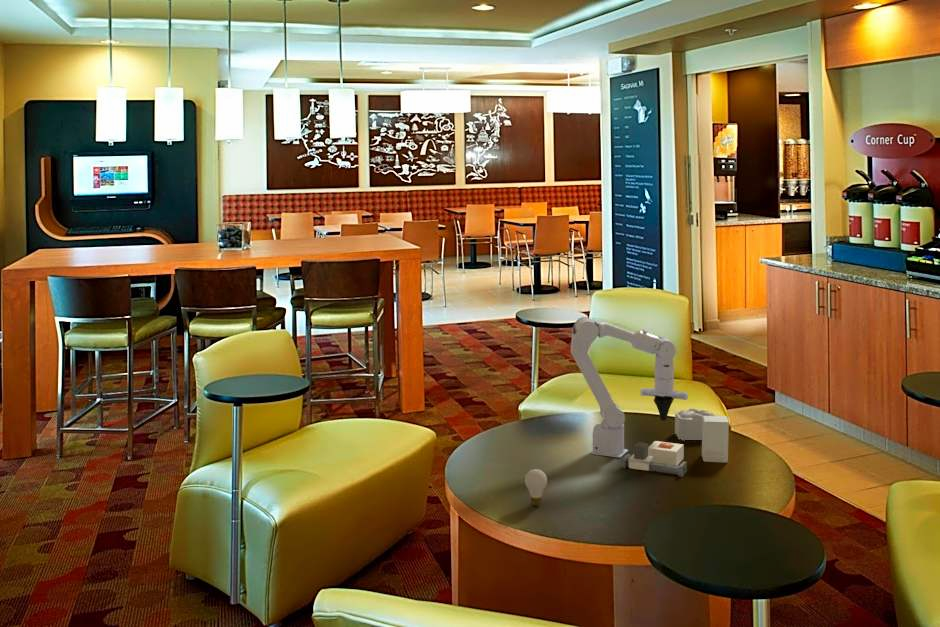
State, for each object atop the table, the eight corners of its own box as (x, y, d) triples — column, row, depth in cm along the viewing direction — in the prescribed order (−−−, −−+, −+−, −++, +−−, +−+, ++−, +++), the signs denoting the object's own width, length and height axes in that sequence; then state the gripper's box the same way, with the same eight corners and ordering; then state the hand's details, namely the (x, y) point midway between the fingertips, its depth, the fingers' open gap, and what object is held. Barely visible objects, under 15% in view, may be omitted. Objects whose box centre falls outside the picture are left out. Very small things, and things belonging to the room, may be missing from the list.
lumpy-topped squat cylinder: (673, 432, 297) (673, 407, 295) (711, 431, 296) (712, 406, 295) (679, 441, 287) (679, 415, 285) (719, 440, 286) (720, 414, 285)
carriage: (628, 468, 260) (628, 445, 259) (633, 463, 264) (633, 441, 263) (648, 470, 257) (648, 447, 256) (653, 466, 261) (653, 443, 260)
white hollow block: (647, 462, 266) (647, 447, 265) (654, 454, 273) (655, 440, 272) (676, 466, 262) (676, 451, 261) (683, 458, 268) (683, 444, 268)
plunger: (658, 460, 266) (658, 445, 266) (661, 457, 269) (661, 442, 269) (669, 462, 265) (669, 446, 264) (672, 458, 268) (672, 443, 267)
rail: (622, 468, 261) (622, 458, 260) (627, 463, 265) (627, 453, 265) (681, 476, 252) (682, 466, 252) (686, 471, 257) (686, 461, 256)
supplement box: (728, 463, 264) (729, 422, 262) (702, 461, 265) (703, 421, 263) (726, 455, 271) (727, 415, 269) (701, 454, 272) (702, 415, 270)
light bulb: (532, 500, 237) (531, 464, 235) (551, 504, 233) (551, 468, 232) (521, 507, 232) (520, 470, 230) (540, 511, 229) (539, 474, 227)
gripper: (637, 378, 272) (637, 420, 274) (683, 382, 265) (683, 425, 267) (644, 373, 278) (644, 414, 280) (689, 377, 271) (689, 419, 273)
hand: (663, 419), depth 274 cm, fingers closed
